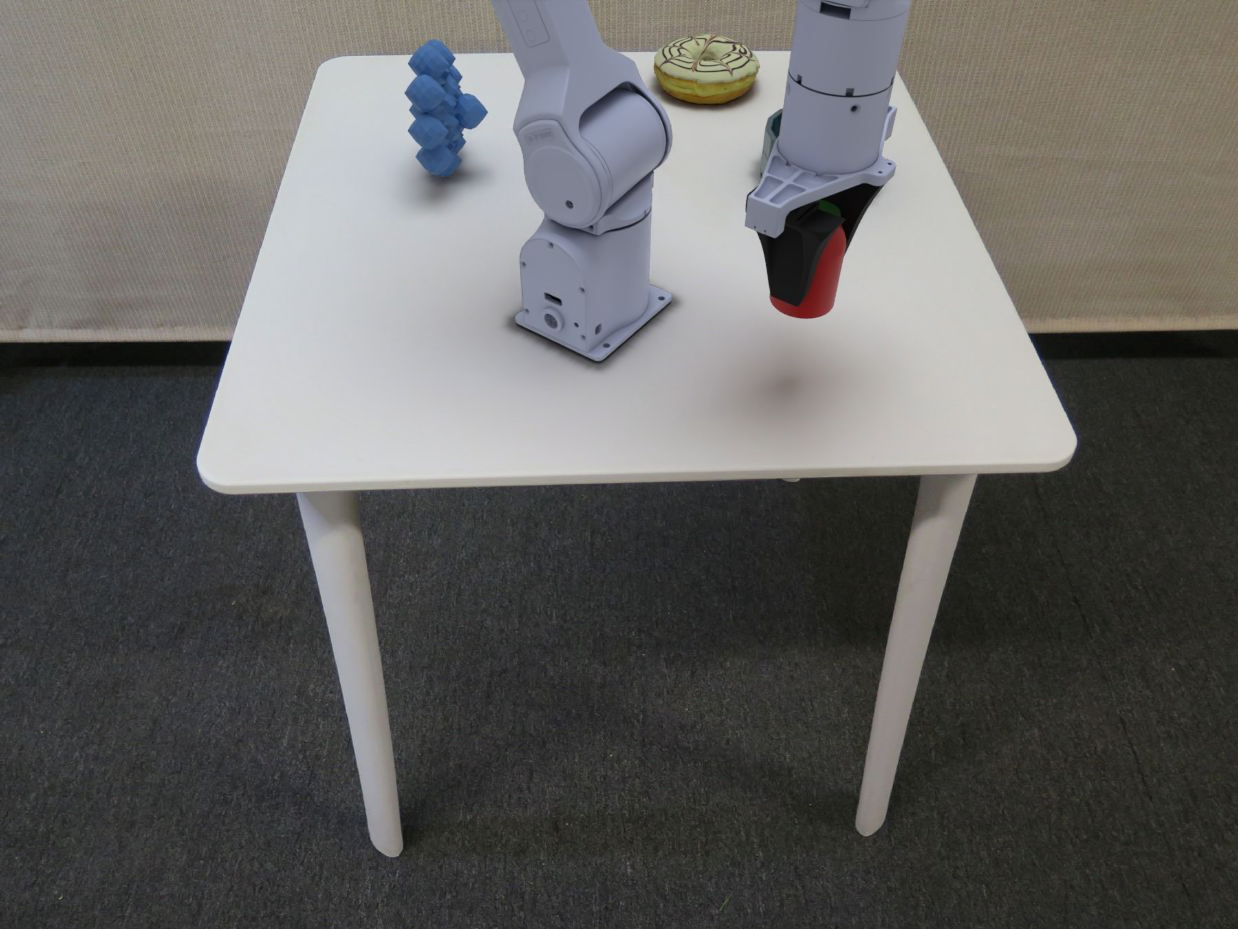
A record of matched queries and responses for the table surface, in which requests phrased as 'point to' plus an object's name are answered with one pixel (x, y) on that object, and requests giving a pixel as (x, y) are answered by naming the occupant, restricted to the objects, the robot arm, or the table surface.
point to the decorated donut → (705, 68)
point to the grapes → (440, 108)
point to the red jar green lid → (820, 276)
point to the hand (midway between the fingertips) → (804, 281)
